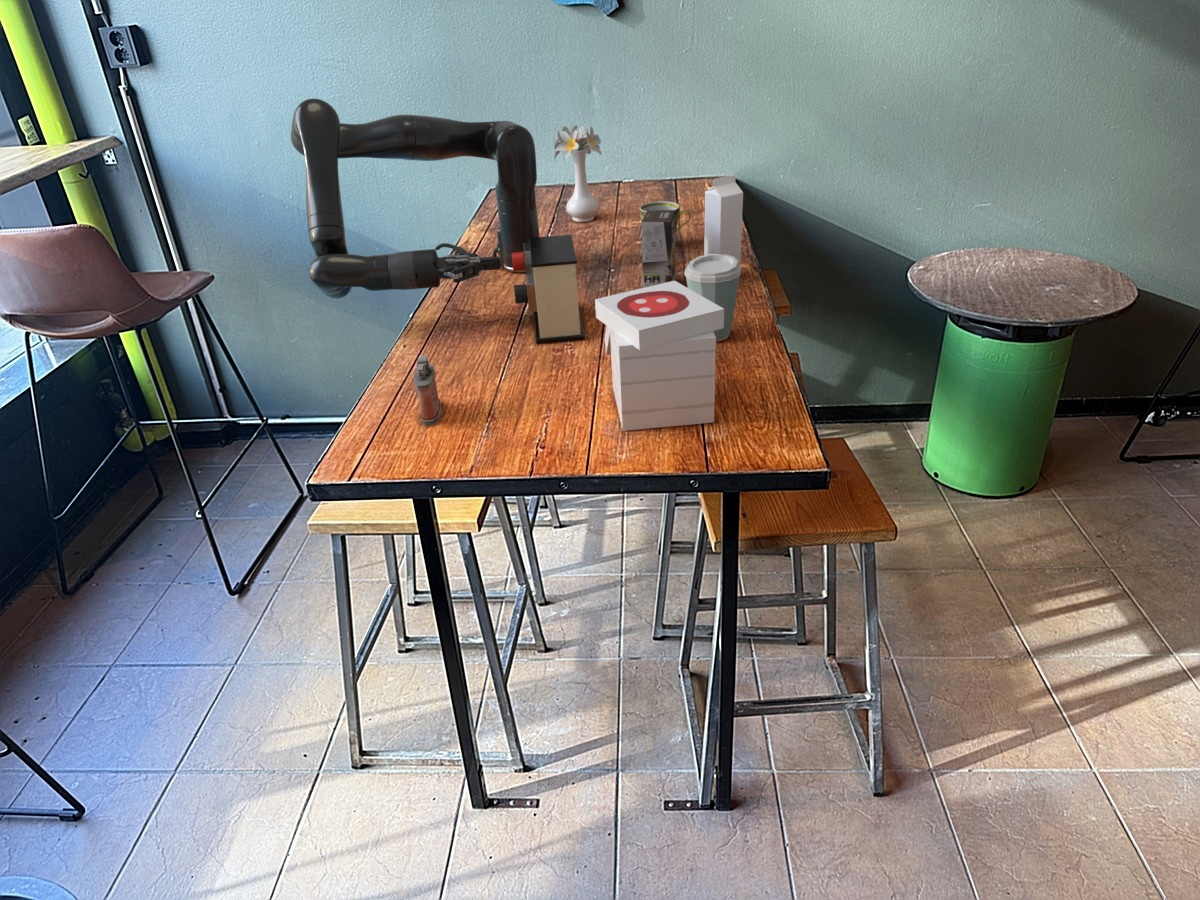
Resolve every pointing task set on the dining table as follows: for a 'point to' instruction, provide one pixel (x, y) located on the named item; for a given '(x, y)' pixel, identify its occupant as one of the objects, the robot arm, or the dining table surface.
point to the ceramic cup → (663, 206)
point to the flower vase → (579, 170)
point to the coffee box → (658, 247)
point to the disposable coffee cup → (716, 284)
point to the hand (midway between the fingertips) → (500, 262)
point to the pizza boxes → (661, 354)
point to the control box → (553, 288)
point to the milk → (723, 218)
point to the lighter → (427, 391)
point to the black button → (520, 293)
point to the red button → (518, 261)
